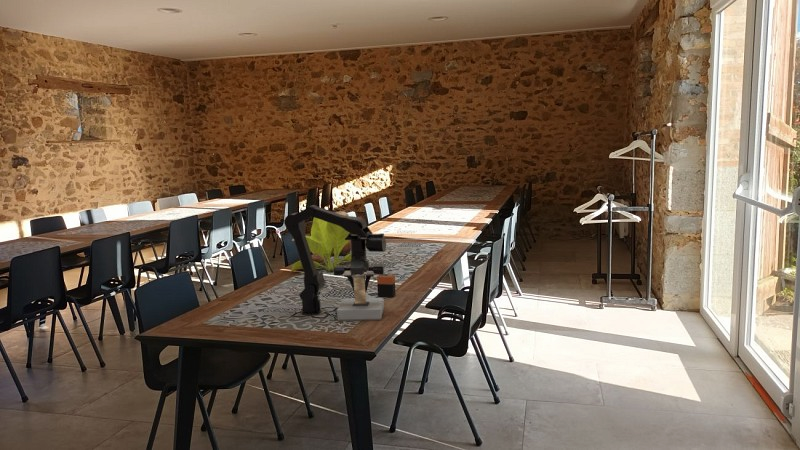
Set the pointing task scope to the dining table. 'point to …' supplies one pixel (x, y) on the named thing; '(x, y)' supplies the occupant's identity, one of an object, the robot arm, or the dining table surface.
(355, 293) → the peg
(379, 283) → the battery
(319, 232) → the artificial plant
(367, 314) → the socket block
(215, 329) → the dining table surface
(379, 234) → the robot arm
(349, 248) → the butternut squash
